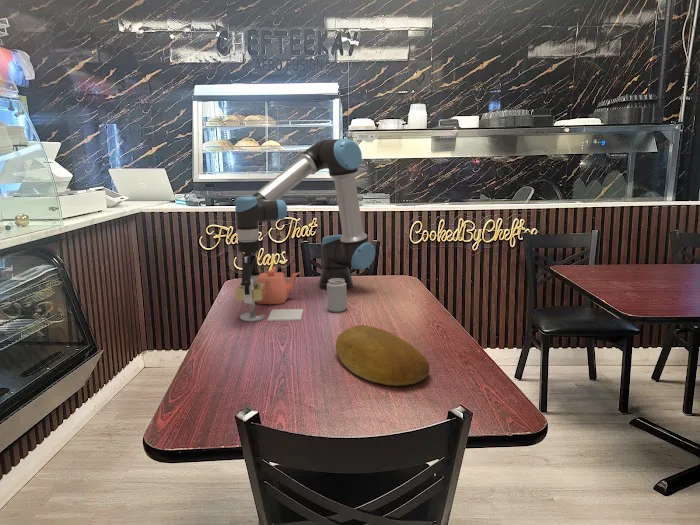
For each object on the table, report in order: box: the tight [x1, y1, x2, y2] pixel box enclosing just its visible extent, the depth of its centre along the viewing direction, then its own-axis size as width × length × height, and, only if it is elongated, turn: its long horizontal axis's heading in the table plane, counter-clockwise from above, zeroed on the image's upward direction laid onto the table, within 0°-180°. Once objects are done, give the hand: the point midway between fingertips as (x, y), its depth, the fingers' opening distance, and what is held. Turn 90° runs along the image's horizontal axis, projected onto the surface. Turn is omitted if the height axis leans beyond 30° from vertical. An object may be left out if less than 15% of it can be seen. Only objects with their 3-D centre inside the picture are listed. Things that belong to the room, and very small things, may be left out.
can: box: [326, 278, 348, 313], centre depth 200 cm, size 8×8×12 cm
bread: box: [335, 324, 430, 387], centre depth 149 cm, size 18×35×10 cm, turn 34°
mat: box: [267, 308, 304, 322], centre depth 196 cm, size 12×12×1 cm
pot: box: [245, 266, 301, 305], centre depth 215 cm, size 18×17×12 cm
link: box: [235, 283, 266, 302], centre depth 191 cm, size 9×9×4 cm
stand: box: [239, 278, 266, 323], centre depth 192 cm, size 9×9×15 cm
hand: (251, 297), depth 192 cm, fingers open, 13 cm apart
